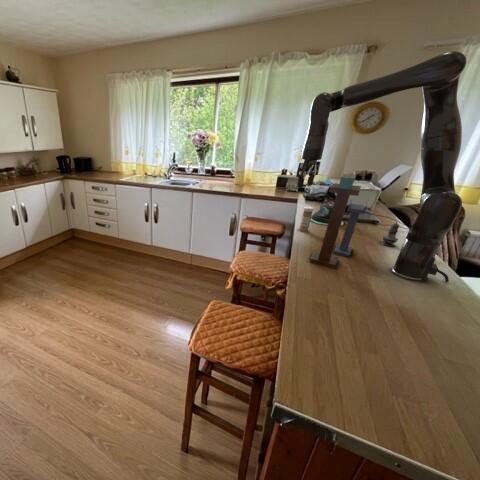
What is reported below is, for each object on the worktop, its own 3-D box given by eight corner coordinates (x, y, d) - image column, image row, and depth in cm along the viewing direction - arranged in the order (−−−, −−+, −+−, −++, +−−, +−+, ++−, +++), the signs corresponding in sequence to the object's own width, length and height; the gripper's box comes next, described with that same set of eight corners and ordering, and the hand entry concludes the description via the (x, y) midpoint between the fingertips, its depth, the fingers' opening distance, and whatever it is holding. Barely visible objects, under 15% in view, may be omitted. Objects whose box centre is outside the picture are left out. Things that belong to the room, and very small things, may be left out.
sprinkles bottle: (309, 231, 143) (315, 207, 137) (305, 232, 140) (311, 209, 135) (301, 228, 146) (307, 205, 141) (297, 230, 144) (302, 207, 139)
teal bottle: (354, 182, 105) (357, 172, 104) (351, 189, 91) (354, 178, 90) (342, 181, 108) (345, 171, 106) (338, 188, 94) (341, 177, 92)
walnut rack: (337, 260, 110) (360, 186, 98) (334, 269, 103) (359, 190, 90) (313, 254, 115) (333, 183, 103) (309, 262, 108) (330, 186, 95)
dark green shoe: (353, 224, 151) (321, 225, 150) (331, 229, 169) (302, 230, 168) (350, 199, 152) (318, 201, 151) (328, 207, 171) (299, 208, 170)
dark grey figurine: (382, 245, 125) (391, 222, 120) (378, 241, 130) (386, 219, 125) (397, 247, 123) (407, 224, 118) (392, 243, 128) (401, 220, 123)
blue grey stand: (350, 249, 120) (367, 201, 111) (349, 257, 113) (366, 206, 104) (336, 246, 124) (350, 199, 115) (333, 253, 116) (348, 204, 107)
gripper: (314, 148, 100) (305, 189, 106) (330, 147, 108) (321, 186, 114) (295, 147, 106) (287, 186, 112) (312, 146, 113) (304, 183, 120)
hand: (304, 186), depth 113 cm, fingers open, 8 cm apart
